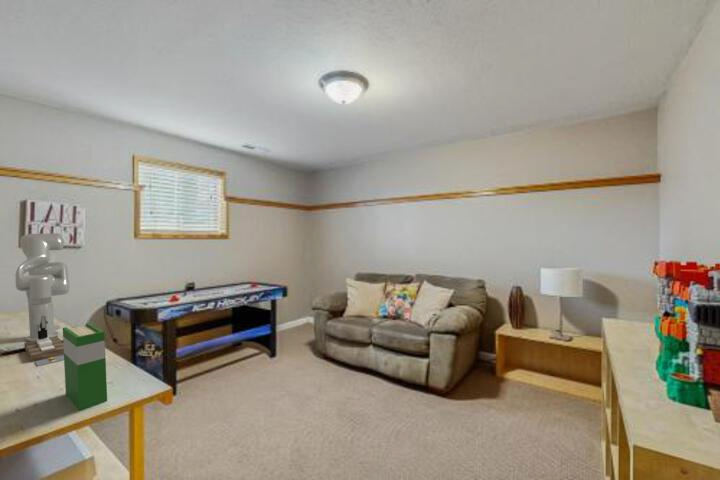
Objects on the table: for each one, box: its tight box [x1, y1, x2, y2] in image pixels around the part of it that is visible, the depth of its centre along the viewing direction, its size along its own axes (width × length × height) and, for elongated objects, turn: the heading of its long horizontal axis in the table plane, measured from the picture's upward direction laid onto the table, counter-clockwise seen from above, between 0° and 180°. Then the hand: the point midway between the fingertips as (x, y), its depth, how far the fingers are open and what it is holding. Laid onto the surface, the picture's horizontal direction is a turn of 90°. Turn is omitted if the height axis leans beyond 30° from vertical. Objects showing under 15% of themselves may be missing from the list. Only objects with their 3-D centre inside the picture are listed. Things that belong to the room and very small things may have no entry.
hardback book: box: [62, 322, 108, 412], centre depth 115 cm, size 18×7×24 cm, turn 53°
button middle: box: [38, 340, 52, 348], centre depth 159 cm, size 4×4×2 cm
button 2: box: [40, 345, 55, 351], centre depth 155 cm, size 4×4×2 cm
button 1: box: [36, 337, 50, 344], centre depth 164 cm, size 4×4×2 cm
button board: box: [23, 335, 64, 363], centre depth 159 cm, size 26×12×3 cm, turn 50°
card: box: [34, 355, 64, 367], centre depth 148 cm, size 7×10×1 cm
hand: (42, 338), depth 163 cm, fingers closed
